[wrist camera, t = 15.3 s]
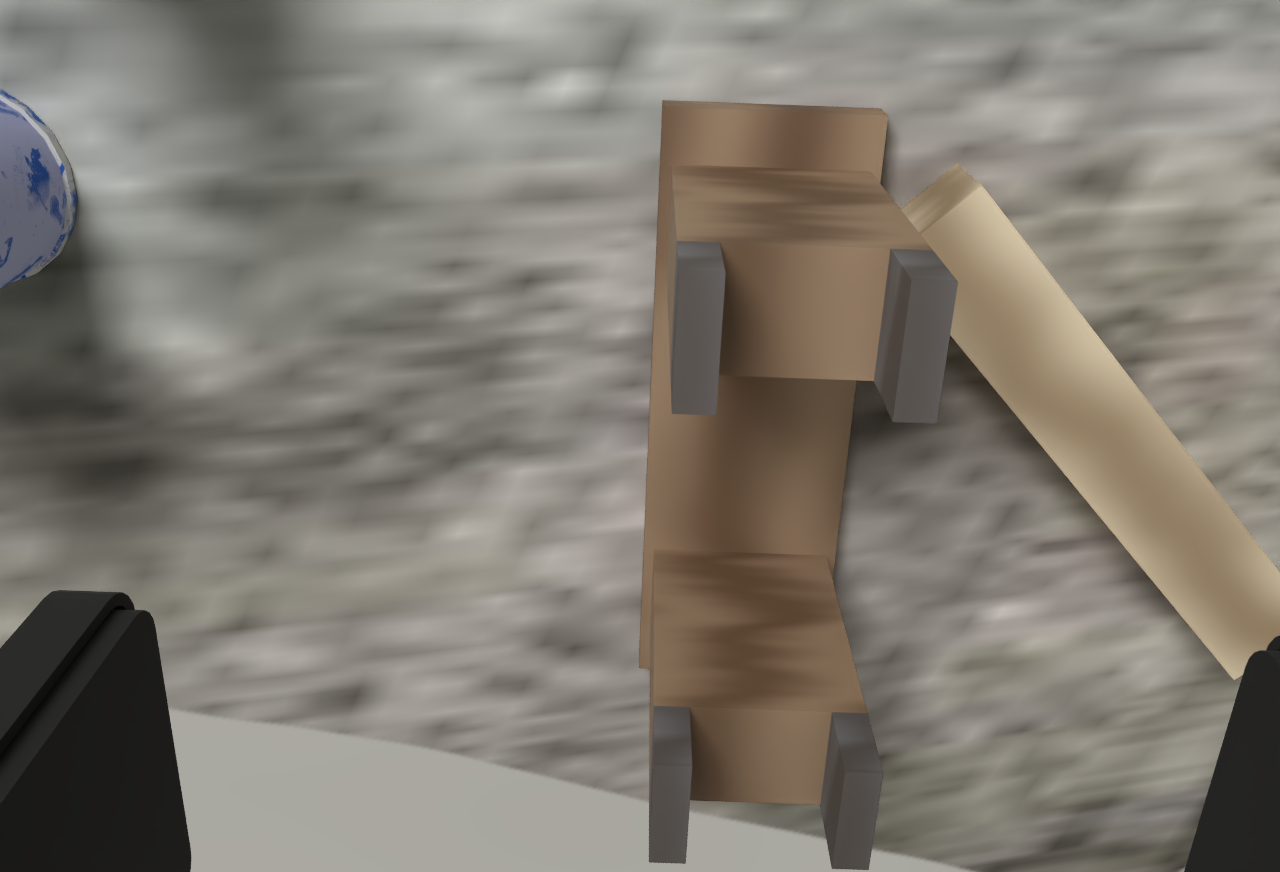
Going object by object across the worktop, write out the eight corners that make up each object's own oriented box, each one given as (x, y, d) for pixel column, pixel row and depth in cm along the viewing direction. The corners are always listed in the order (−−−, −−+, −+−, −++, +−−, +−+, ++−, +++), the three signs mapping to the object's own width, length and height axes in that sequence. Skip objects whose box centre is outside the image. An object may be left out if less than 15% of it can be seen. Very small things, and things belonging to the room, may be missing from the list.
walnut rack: (880, 108, 43) (986, 205, 30) (817, 654, 53) (873, 915, 40) (662, 100, 43) (666, 193, 30) (639, 648, 53) (634, 907, 40)
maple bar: (955, 161, 44) (981, 185, 41) (1274, 575, 52) (1321, 626, 48) (869, 230, 46) (888, 260, 42) (1193, 626, 53) (1233, 680, 49)
